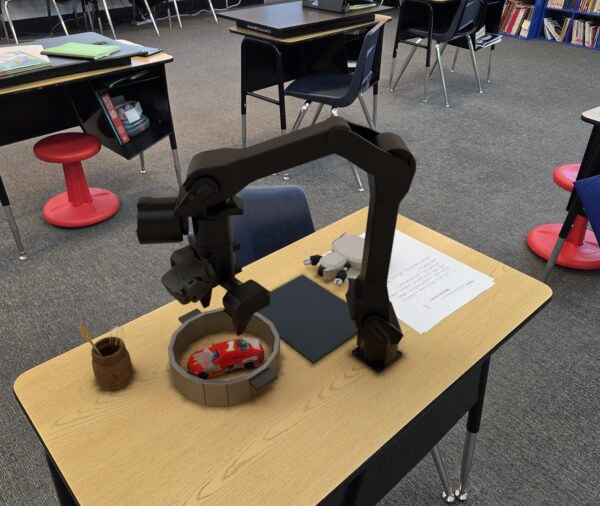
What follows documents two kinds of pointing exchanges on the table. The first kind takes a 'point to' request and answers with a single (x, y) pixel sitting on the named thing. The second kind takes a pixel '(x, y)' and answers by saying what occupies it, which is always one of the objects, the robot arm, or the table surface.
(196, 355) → the race car
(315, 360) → the rubber mat
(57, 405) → the table surface
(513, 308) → the table surface
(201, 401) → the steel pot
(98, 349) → the utensil holder
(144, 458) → the table surface
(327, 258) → the robot toy
